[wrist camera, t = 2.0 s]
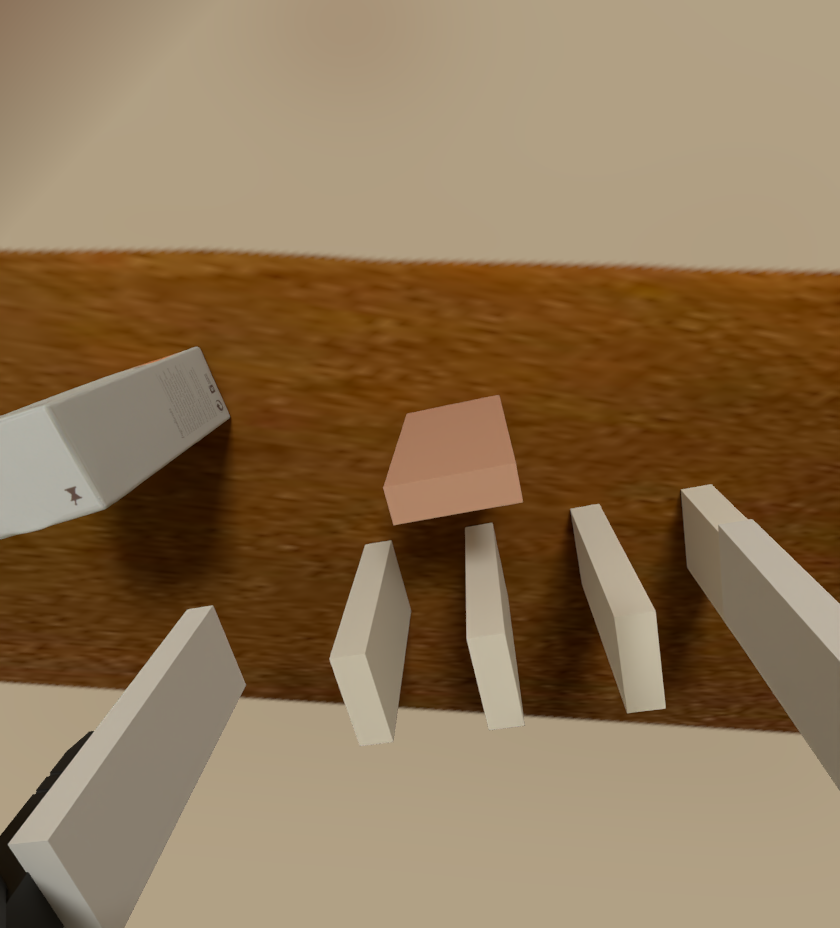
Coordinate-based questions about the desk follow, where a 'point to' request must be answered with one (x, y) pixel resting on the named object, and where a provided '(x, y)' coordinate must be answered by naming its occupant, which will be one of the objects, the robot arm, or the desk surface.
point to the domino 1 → (373, 645)
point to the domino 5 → (706, 537)
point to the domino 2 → (452, 462)
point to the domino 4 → (619, 610)
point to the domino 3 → (491, 630)
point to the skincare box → (102, 440)
